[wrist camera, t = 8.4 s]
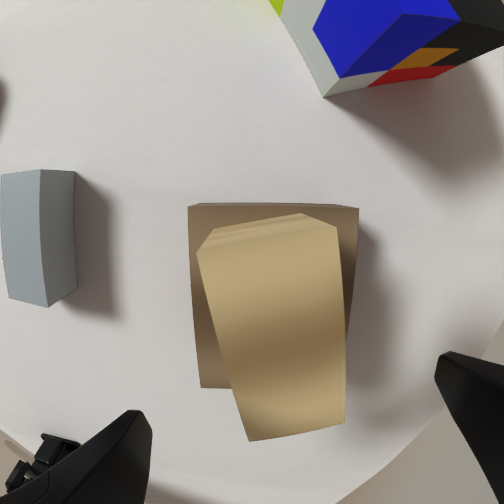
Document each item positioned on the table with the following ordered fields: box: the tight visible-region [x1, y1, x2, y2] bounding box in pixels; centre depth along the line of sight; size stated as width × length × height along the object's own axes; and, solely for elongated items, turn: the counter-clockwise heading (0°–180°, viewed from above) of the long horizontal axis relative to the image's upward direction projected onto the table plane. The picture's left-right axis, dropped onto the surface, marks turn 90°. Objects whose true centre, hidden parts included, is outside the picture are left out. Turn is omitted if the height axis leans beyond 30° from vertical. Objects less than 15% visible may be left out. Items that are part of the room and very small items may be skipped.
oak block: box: [196, 213, 346, 442], centre depth 11 cm, size 8×4×5 cm, turn 10°
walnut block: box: [188, 203, 359, 389], centre depth 15 cm, size 10×8×4 cm
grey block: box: [0, 169, 78, 308], centre depth 14 cm, size 8×4×4 cm, turn 176°
